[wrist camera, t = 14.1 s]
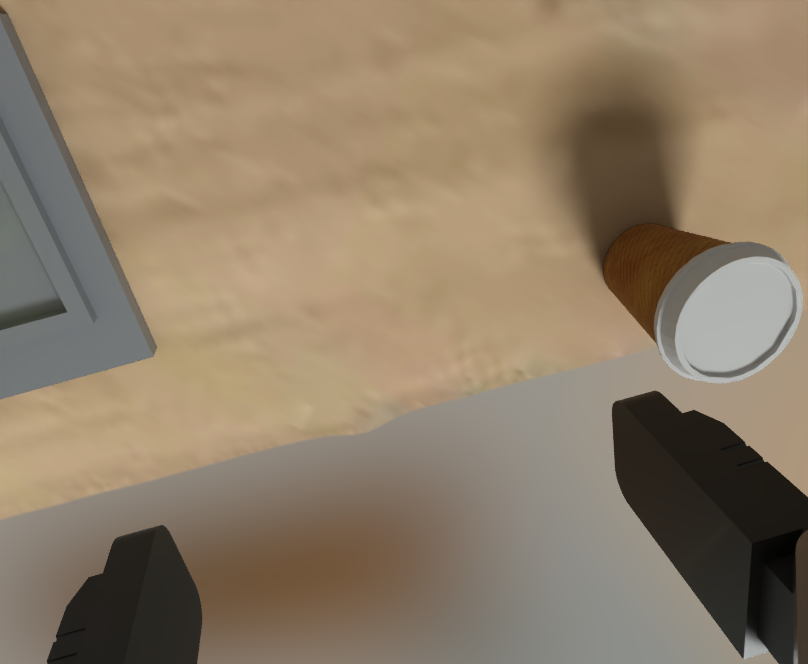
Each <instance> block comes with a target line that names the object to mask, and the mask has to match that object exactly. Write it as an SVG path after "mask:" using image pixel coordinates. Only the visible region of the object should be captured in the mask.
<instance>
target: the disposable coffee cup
mask: <svg viewBox="0 0 808 664" xmlns="http://www.w3.org/2000/svg"><path fill="white" fill-rule="evenodd" d="M603 271H604V279H605V282H606V284H607V286H608V288H609V289H610V290H611V292H612V293H613V294H614V295H615V296H616V297H617V298H618V299H619V301H620V302H621V303H622V304H623V305H624V306H625V308H626V309H627V310H628V311H629V313H630V314H631V315H632V316H633V317H634V318H635V319H636V320H637V321H638V323H639V324H640V325H641V326H642V327H643V329H644V330H645V331H646V332H647V333H648V334H649V335H650V337H651V338H652V339H653V340H654V341H655V342H656V344H657V346H658V349H659V352H660V354H661V356H662V357H663V359H664V360H665V362H666V363H667V365H668V366H669V367H670V368H671V369H673V370H674V371H675V372H677V373H678V374H680V375H681V376H683V377H686V378H689V379H692V380H699V381H705V382H711V383H722V384H723V383H728V382H733V381H738V380H742V379H744V378H746V377H749V376H751V375H753V374H755V373H757V372H758V371H760V370H761V369H763V368H764V367H765V366H767V365H768V364H769V363H770V362H771V361H772V360H773V359H774V358H775V357H777V356H778V355H779V354H780V353H781V352H782V351H783V349H784V348H785V347H786V345H787V344H788V342H789V341H790V340H791V338H792V336H793V334H794V332H795V330H796V328H797V326H798V323H799V320H800V317H801V312H802V297H803V293H802V290H801V286H800V283H799V280H798V278H797V277H796V275H795V274H794V272H793V271H792V270H791V268H790V266H789V264H788V263H787V262H786V260H785V259H784V258H783V257H782V256H781V254H779V253H778V252H776V251H775V250H773V249H772V248H770V247H768V246H765V245H762V244H758V243H752V242H735V243H731V242H725V241H721V240H718V239H713V238H709V237H706V236H701V235H696V234H693V233H689V232H684V231H680V230H676V229H673V228H668V227H664V226H660V225H657V224H641V225H638V226H635V227H633V228H630V229H628V230H627V231H626V232H624V233H623V234H622V235H620V236H619V237H618V238H617V239H616V240H615V242H614V243H613V244H612V246H611V247H610V249H609V251H608V253H607V255H606V258H605V261H604V269H603Z"/></svg>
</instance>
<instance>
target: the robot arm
mask: <svg viewBox="0 0 808 664" xmlns="http://www.w3.org/2000/svg"><path fill="white" fill-rule="evenodd" d="M612 422H613V440H614V458H615V471H616V476H617V480H618V483H619V486H620V489H621V491H622V494H623V496H624V497H625V499H626V501H627V503H628V504H629V505H630V507H631V508H632V510H633V511H634V512H635V514H636V515H637V516H638V518H639V519H640V520H641V522H642V523H643V524H644V526H645V527H646V528H647V530H648V531H649V532H650V534H651V535H652V537H653V538H654V539H655V541H656V542H657V543H658V545H659V546H660V547H661V549H662V550H663V551H664V553H665V554H666V555H667V557H668V558H669V559H670V561H671V562H672V563H673V565H674V566H675V568H676V569H677V570H678V572H679V573H680V574H681V576H682V577H683V578H684V580H685V581H686V582H687V584H688V585H689V586H690V588H691V589H692V591H693V592H694V593H695V595H696V596H697V597H698V599H699V600H700V601H701V603H702V604H703V605H704V607H705V608H706V609H707V611H708V612H709V613H710V615H711V616H712V617H713V619H714V620H715V621H716V623H717V624H718V626H719V627H720V628H721V630H722V631H723V632H724V634H725V635H726V636H727V638H728V639H729V640H730V642H731V643H732V644H733V646H734V647H735V649H736V650H737V651H738V652H739V654H740V655H741V657H742V658H743V659H747V658H750V657H753V656H756V655H760V654H763V653H766V652H770V653H771V654H772V655H773V657H774V658H775V659H776V660H777V662H778V663H779V664H808V497H807V496H806V495H805V494H803V493H802V492H801V491H800V490H799V489H798V488H797V487H795V486H794V485H793V484H792V483H791V482H790V481H789V480H788V479H786V478H785V477H784V476H783V475H782V474H781V473H780V472H778V471H777V470H776V469H775V468H774V467H773V466H771V465H770V464H769V463H768V462H764V461H763V458H762V457H761V456H760V455H759V454H758V453H757V452H756V451H755V450H754V449H752V448H751V447H750V446H746V444H745V442H744V441H743V440H742V439H741V438H740V437H739V436H737V435H736V434H735V433H734V432H733V431H732V430H731V429H730V428H728V427H727V426H726V425H725V424H724V423H722V422H720V421H718V420H715V419H713V418H711V417H709V416H706V415H704V414H702V413H700V412H698V411H695V410H692V411H689V412H685V413H681V412H680V411H679V410H678V409H677V408H676V407H675V406H674V405H673V404H672V403H671V402H670V401H669V400H668V399H667V398H666V397H664V396H663V395H662V394H661V393H660V392H658V391H652V392H648V393H645V394H641V395H637V396H634V397H630V398H626V399H623V400H619V401H616V402H615V403H614V404H613V407H612ZM201 628H202V609H201V603H200V597H199V594H198V590H197V588H196V585H195V583H194V581H193V579H192V577H191V575H190V573H189V571H188V569H187V567H186V565H185V563H184V561H183V559H182V556H181V554H180V552H179V550H178V548H177V546H176V544H175V542H174V540H173V538H172V536H171V534H170V532H169V531H168V530H167V528H166V527H165V526H163V525H160V526H156V527H153V528H149V529H146V530H142V531H138V532H134V533H131V534H127V535H124V536H120V537H117V538H116V539H115V540H114V542H113V544H112V547H111V550H110V553H109V556H108V559H107V562H106V565H105V569H104V572H103V574H99V575H95V576H92V577H89V578H88V579H87V580H86V582H85V583H84V584H83V586H82V587H81V588H80V589H79V591H78V592H77V593H76V595H75V596H74V597H73V599H72V600H71V601H70V603H69V604H68V605H67V607H66V610H65V612H64V615H63V618H62V621H61V624H60V626H59V629H58V632H57V635H56V638H57V641H56V642H54V643H53V645H52V649H51V651H50V654H49V657H48V659H47V663H48V664H197V660H198V652H199V643H200V636H201Z"/></svg>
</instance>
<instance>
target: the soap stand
mask: <svg viewBox="0 0 808 664" xmlns="http://www.w3.org/2000/svg"><path fill="white" fill-rule="evenodd" d="M156 349H157V346H156V344H155V342H154V340H153V337H152V335H151V333H150V331H149V328H148V326H147V324H146V322H145V319H144V317H143V315H142V313H141V311H140V308H139V306H138V304H137V302H136V299H135V297H134V295H133V293H132V290H131V288H130V286H129V284H128V281H127V279H126V277H125V275H124V273H123V270H122V268H121V266H120V264H119V261H118V259H117V257H116V255H115V252H114V250H113V248H112V246H111V243H110V241H109V239H108V237H107V235H106V232H105V230H104V228H103V226H102V223H101V221H100V219H99V217H98V214H97V212H96V210H95V208H94V205H93V203H92V201H91V199H90V197H89V194H88V192H87V190H86V188H85V185H84V183H83V181H82V179H81V176H80V174H79V172H78V170H77V167H76V165H75V163H74V161H73V159H72V156H71V154H70V152H69V150H68V147H67V145H66V143H65V141H64V138H63V136H62V134H61V132H60V130H59V127H58V125H57V123H56V121H55V118H54V116H53V114H52V112H51V109H50V107H49V105H48V103H47V100H46V98H45V96H44V94H43V92H42V89H41V87H40V85H39V83H38V80H37V78H36V76H35V74H34V71H33V69H32V67H31V65H30V62H29V60H28V58H27V56H26V54H25V51H24V49H23V47H22V45H21V42H20V40H19V38H18V36H17V33H16V31H15V29H14V27H13V24H12V22H11V20H10V18H9V16H8V14H0V399H3V398H7V397H10V396H14V395H18V394H21V393H25V392H28V391H32V390H36V389H39V388H43V387H46V386H50V385H54V384H57V383H61V382H64V381H68V380H72V379H75V378H79V377H82V376H86V375H89V374H93V373H97V372H100V371H104V370H107V369H111V368H115V367H118V366H122V365H125V364H129V363H133V362H136V361H140V360H143V359H147V358H151V357H154V354H155V351H156Z"/></svg>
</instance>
